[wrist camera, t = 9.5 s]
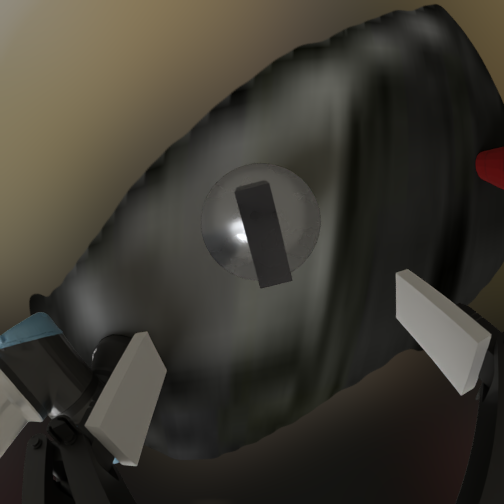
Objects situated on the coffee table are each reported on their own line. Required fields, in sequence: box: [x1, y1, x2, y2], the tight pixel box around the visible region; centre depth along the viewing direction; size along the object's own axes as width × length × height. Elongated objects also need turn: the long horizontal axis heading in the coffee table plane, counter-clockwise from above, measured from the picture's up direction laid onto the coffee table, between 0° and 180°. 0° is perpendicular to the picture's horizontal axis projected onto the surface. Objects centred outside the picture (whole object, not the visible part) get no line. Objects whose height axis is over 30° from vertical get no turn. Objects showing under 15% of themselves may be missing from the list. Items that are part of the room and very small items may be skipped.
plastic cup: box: [476, 147, 504, 190], centre depth 32 cm, size 11×11×12 cm
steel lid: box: [201, 163, 321, 288], centre depth 27 cm, size 13×13×7 cm
